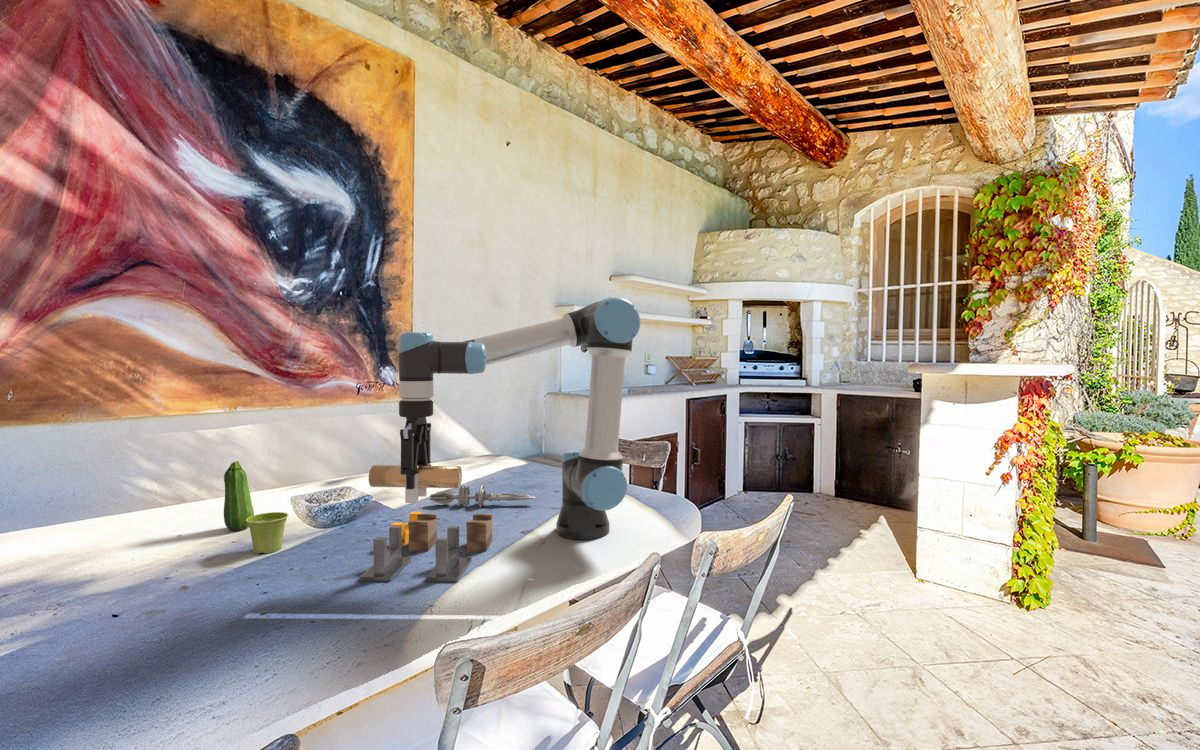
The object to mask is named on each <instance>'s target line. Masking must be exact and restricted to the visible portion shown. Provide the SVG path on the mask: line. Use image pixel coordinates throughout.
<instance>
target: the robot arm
mask: <svg viewBox="0 0 1200 750" xmlns="http://www.w3.org/2000/svg"><path fill="white" fill-rule="evenodd" d="M640 327H641V317H640V314H639V311H638V309H637V307H636V306H635V305H634V304H633V303H632V302H631V301H629V300H627V299H626V298H623V297H620V296H619V297H618V296H617V297H607V298H604V299H602V300H599V301H596V302H593V303H591V304H590V303H589V304H588V305H586V306H584V307H582V308H579V309H577V310H575V311H570V312H567V313H564V314H563V315H562V317H561V318H559V319H557V318H556V319H554V320H548V321H545V322H541V323H536V324H532V325H529V326H528V325H527V326H524V327H519V328H514V329H511V330H507V331H503V332H498V333H494V334H491V335H486V336H482V337H479V338H478V337H477V338H473V339H469V340H465V341H436V340H435V339H434V335H433V333H430V332H421V331H419V332H416V331H415V332H411V331H410V332H409V331H408V332H403V333H401V334H400V336H399V342H398V377H399V378H398V380H399V381H398V382H399V383H398V384H397V386H396V387H397V389H398V397H399V399H401V400H399V402H398V415H399V417H401V418H405V419H406V421H405V426H404V429H399V434H400V436H399V437H400V465H401V475H405V487H404V488H405V489H404V494H405V495H404V498H405V499H404V500H405V501H404V503H405V504H418V503H419V497H421V498H422V497H423V498H424V497H427V496H428V488H418V474H416V472H417V465H421V466H432V464H431V430H432V423H431V422H427V417H432V416H433V415H434V401H433V400H432V398H434V374H437V375H438V374H450V375H451V374H453V375H455V374H456V375H457V374H458V375H459V374H460V375H461V374H468V375H474V374H475V375H477V374H482V373H484V372H485V371H486V370H485V369H486V366H489V365H493V364H494V365H495V364H498V363H501V362H502V363H503V362H506V361H510V360H513V359H517V358H522V357H526V356H529V355H533V354H537V353H541V352H545V351H549V350H553V349H556V348H561V347H565V346H569V347H571V348H576V347H580V346H586V345H587V346H586V349H587V351H589V353H590V354H591V367H590V381H589V391H588V393H589V395H588V406H587V416H586V417H587V418H586V420H587V421H586V431H585V432H586V433H585V443H584V448H583V449H581V450H568V451H565V452H563V454H562V459H561V473H562V474H561V475H562V477H561V483H562V484H561V485H562V487H561V489H562V490H561V495H562V497H561V498H562V499H561V500H562V505H561V507H560V509H559V514H558V518H557V521H556V524H555V527H556V529H555V531H556V534H557V535H558V536H560V537H562V538H566V539H571V540H592V539H597V538H601V537H604V536H606V535H607V534H609V533H610V520H609V518H608V514H607V511H609V510H612V509H614V508H615V507H617V506H619V505H620V503H621V502H623V500H624V498H625V497H626V494H627V492H628V480H627V478H626V475H625V473H624V472H623V466H624V465H623V464H624V456H623V454H622V453H621V452H620V451H619V440H620V439H619V438H620V427H621V415H622V414H621V413H622V403H623V390H624V377H625V376H624V375H625V365H626V358H627V357H628V356H629V355H630V354H631V353H632V349H633V340H634V339H635V338H636V336H637V334H638V333H639V331H640Z"/></svg>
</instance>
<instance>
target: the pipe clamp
mask: <svg viewBox="0 0 1200 750" xmlns="http://www.w3.org/2000/svg"><path fill="white" fill-rule="evenodd" d="M418 514H423V512H422V511H411V512H410V513H409V519H408V522H409V521H416V520H417V515H418ZM408 522H406V523H405V522H397V521H396V522H393V523H391V524H390V527H391V526H402V548H403V547H404V546H406V545H407V544H409V527H408Z"/></svg>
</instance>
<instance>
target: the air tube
mask: <svg viewBox="0 0 1200 750" xmlns="http://www.w3.org/2000/svg"><path fill="white" fill-rule="evenodd" d="M416 474H418V488H427V489H428V488H429V489H430V488H433V489H459V488H461V486H462V485H461V484H462V479H463V470H462V466H459V465H431V466H421V465H417V472H416ZM368 484H369V486H370V487H371V488H405V475H401V464H399V465H391V464H390V465H389V464H387V465H386V464H385V465H384V464H381V465H380V464H373V465H372V466H371V467H370V468H369V473H368Z"/></svg>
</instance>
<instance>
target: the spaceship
mask: <svg viewBox="0 0 1200 750" xmlns="http://www.w3.org/2000/svg"><path fill="white" fill-rule="evenodd" d="M429 497H430V498H429V500H428V501H433V502H434V503H437V504H441V505H444V506H446V505H448V504H450V503H452V502H453V501H455V500H457V501H458V507H459V506H461V507H462V506H463V507H462V508H465V507H468V504H469V505H470V502H471V500H474V501H475V503H478V506H479V507H478V508H479V509H482V507H483V506H485V505H486V501H488V502H493V501H497V502H500V501H508V502H509V501H526V500H527V501H529V500H533V499H537V496H534V495H531V494H530V495H529V494H519V493H518V494H517V493H508V492H507V493H500V492H498V493H493V492H489V493H487V492H486V488H485V485H484V484H482V485H481V486H480V487H479V490H478V492H475V494H473V495H472V494H471V492H470V486H467V487H466V486H465V485H460V487H459V488H458V494H457V495H455V492H454V491H452V490H450V489H446V490H445V489H444V490H442V491H437V492H435V493H432V494H430V495H429ZM461 504H462V505H461ZM464 504H466V505H464Z"/></svg>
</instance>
